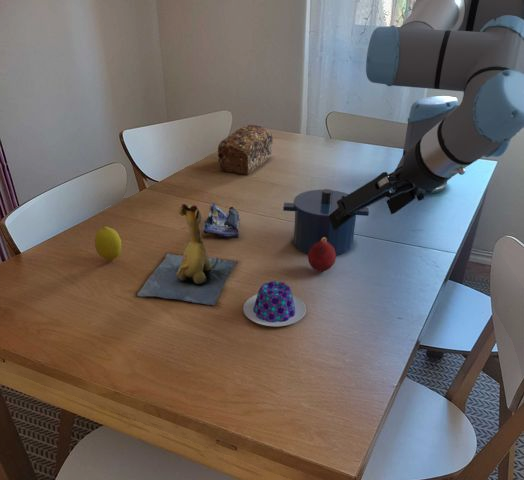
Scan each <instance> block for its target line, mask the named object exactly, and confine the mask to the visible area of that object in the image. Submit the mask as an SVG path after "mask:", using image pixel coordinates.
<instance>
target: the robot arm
mask: <svg viewBox="0 0 524 480" xmlns="http://www.w3.org/2000/svg"><path fill="white" fill-rule="evenodd" d="M365 74H366V78H367V80H368V81H369V82H371V83H373V84H380V85H386V86H387V87H392V86H393V87H406V88H417V89H418V88H419V89H432V90H442V91H450V92H451V91H452V92H463V96H462V100H461V102H460V104H458V103H459V102H458V98H457V97H453V96H449V95H441V96H440V95H437V96H429V97H423V98H419V99H417V100H416V101H414V102H413V103H412V104H411V106H410V110H409V114H408V118H407V127H406V132H405V139H404V145H403V150H402V155H401V158H400V160H399V162H398V164H397V166H396V168H395V169H394V171H392V172H390V173H388V172H387V171H385V172H381V173H380V174H379V175H377V176H376V177H375V178H374V179H372V180H371V181H369V182H367V183H366V184H363V185H362V186H360V187H359V188H356V189H355V190H354V191H352V192H350V193H348V194H349V195H347V196H342V199H340V200H338V201H337V204H338V208H337V209H336V210H335V211H334V212H333V213H331V214H330V215H329V216H328V217H329V219H330V222H331V224H332V227H333V229H334V230H336V229H338V228H339V227H340V226H342V225H343V224H344V223H346V222H347V221H348V220H349V219H351V218H352V217H353V216H355V215H356V213H355V212H357V211H359V210H361V209H363V208H366V207H368V208H369V207H370V206H371V205H373V204H376V203H377V202H381V201H382V200H383V199H386V198H388V199H387V200H385V202H386V204H387V207H388V210H389V212H390V215H394V214H396V213H398V211H400V210H402V209H403V208H405V207H406V206H407V205H408V204H410V203H412V202H413V201H414V200H416V198H417V201H418V202H421V201H422V200H425V198H426V197H425V196H427V195H428V196H429V195H430V196H431V195H438V194H440V193H443V192H444V191H445V190H446V188H447V184H448V181H449V180H451V179H452V178H453V177H454V176H456V175H457V174H459V175H465V174H466V168H467V167H469V166H470V165H472V164H473V163H475V162H477V161H478V160H480V159H481V158H483V157H484V158H499V157H502V156H503V155H504V154H505V153H506V151H507V149H508V148H509V145H510V143H511V140H512V139H513V138H514V137H515V136H517V134H518V133H519V132H520V131H521V130H522V129H524V0H414V3H413V5H412V9H411V12H410V14H409V15H408V17H406V19H405V20H404V22H403V23H402V24H401V25H400V26H396V25H393V24H392V25H390V26H377V27H376V28H375V29H374V30H373V31H372V33H371V35H370V38H369V41H368V47H367V52H366V60H365ZM391 189H392V190H393V192H392V191H391ZM356 216H357V215H356Z"/></svg>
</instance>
